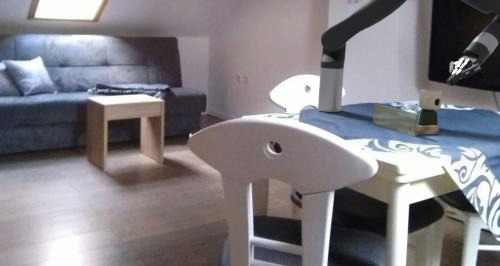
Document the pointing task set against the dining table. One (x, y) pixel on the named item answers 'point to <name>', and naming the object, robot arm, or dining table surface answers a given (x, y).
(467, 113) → the dining table surface
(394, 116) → the oak dock
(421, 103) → the character mug
